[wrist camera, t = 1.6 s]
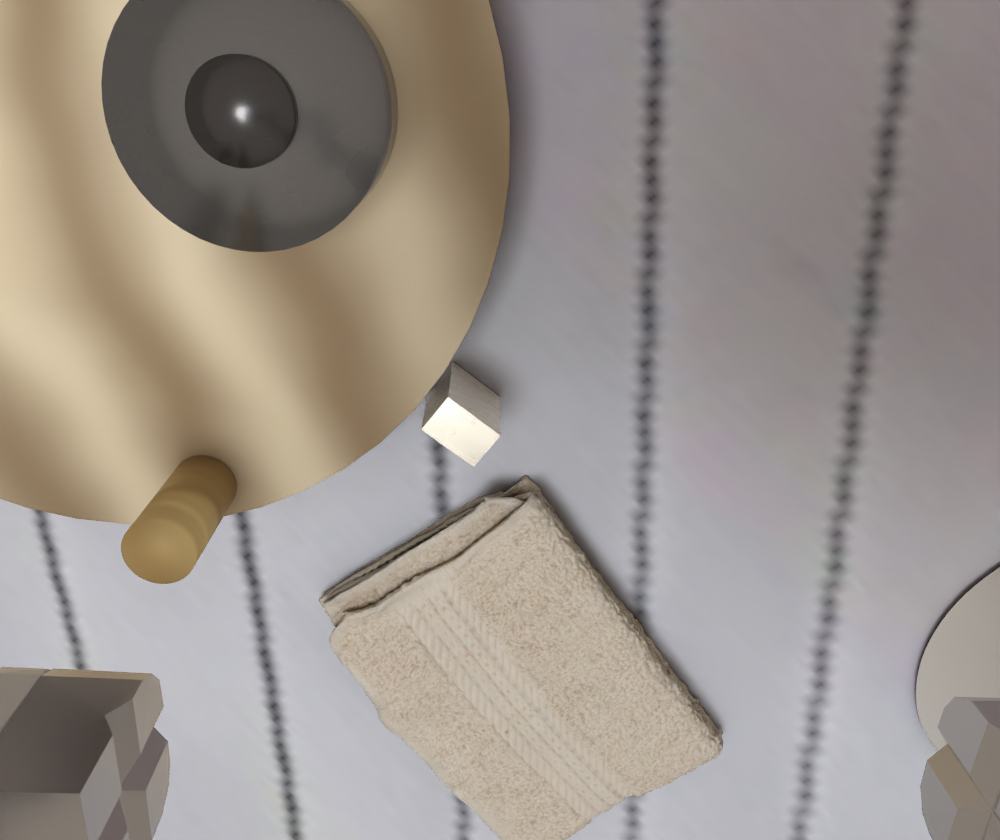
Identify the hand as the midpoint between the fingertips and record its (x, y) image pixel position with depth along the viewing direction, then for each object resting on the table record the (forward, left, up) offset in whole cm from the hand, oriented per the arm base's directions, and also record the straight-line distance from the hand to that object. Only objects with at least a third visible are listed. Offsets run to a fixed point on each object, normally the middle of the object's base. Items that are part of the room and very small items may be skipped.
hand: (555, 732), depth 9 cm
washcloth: (+3, +19, -26) cm, 33 cm away
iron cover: (+6, -7, -22) cm, 24 cm away
